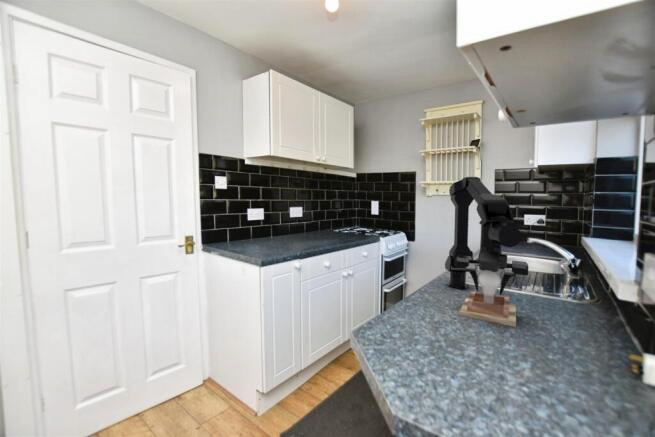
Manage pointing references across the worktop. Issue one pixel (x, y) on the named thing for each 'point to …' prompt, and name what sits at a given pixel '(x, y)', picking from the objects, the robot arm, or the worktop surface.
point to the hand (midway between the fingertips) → (488, 292)
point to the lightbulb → (489, 284)
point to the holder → (489, 309)
